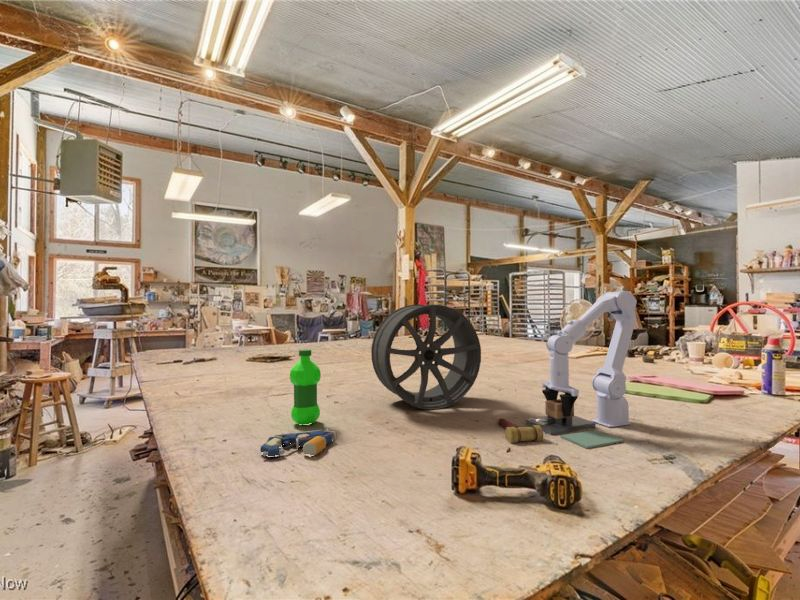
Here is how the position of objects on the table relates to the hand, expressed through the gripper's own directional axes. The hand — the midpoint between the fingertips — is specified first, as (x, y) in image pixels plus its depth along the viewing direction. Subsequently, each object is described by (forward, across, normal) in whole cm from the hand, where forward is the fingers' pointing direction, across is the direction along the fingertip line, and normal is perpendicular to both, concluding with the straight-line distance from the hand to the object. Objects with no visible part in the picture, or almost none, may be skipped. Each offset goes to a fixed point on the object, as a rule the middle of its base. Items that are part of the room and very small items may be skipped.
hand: (559, 413), depth 133 cm
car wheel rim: (+4, -44, -28) cm, 52 cm away
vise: (+4, 0, 0) cm, 4 cm away
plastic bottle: (+4, -35, -77) cm, 85 cm away
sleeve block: (+1, 0, 0) cm, 1 cm away
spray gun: (+5, -11, -82) cm, 83 cm away
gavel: (+5, -1, -18) cm, 19 cm away
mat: (+4, +14, -1) cm, 15 cm away
